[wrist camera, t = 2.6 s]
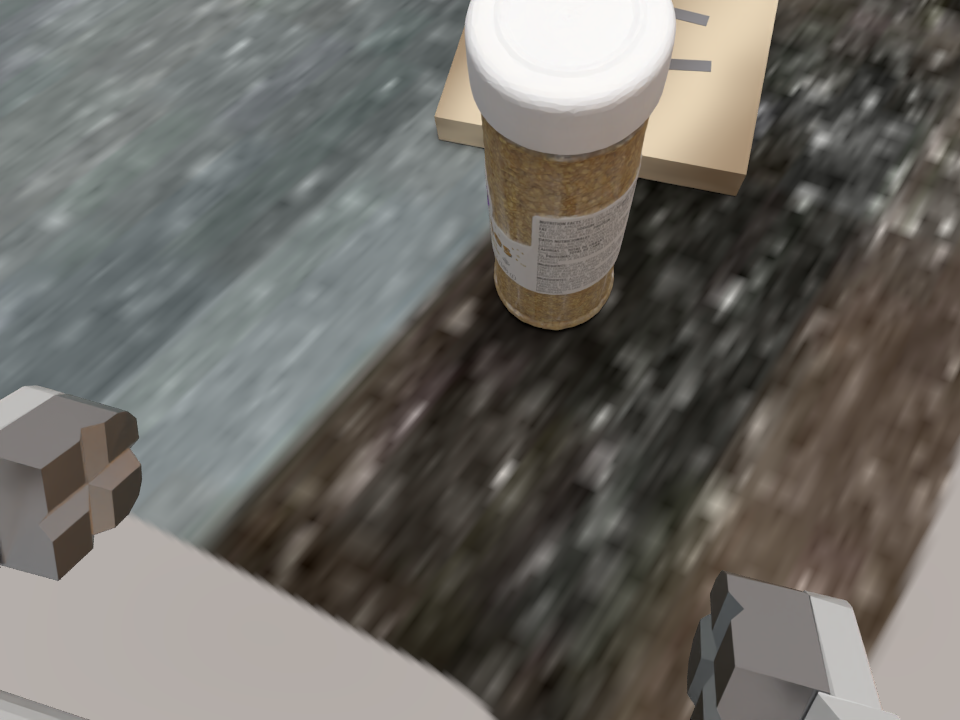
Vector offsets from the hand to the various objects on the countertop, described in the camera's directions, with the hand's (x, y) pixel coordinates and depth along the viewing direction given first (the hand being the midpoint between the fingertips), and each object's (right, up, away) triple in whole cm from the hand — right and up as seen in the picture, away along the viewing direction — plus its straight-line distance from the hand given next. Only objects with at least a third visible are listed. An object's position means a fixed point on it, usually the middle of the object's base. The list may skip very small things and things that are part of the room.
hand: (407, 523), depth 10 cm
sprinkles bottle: (+4, +5, +19) cm, 20 cm away
